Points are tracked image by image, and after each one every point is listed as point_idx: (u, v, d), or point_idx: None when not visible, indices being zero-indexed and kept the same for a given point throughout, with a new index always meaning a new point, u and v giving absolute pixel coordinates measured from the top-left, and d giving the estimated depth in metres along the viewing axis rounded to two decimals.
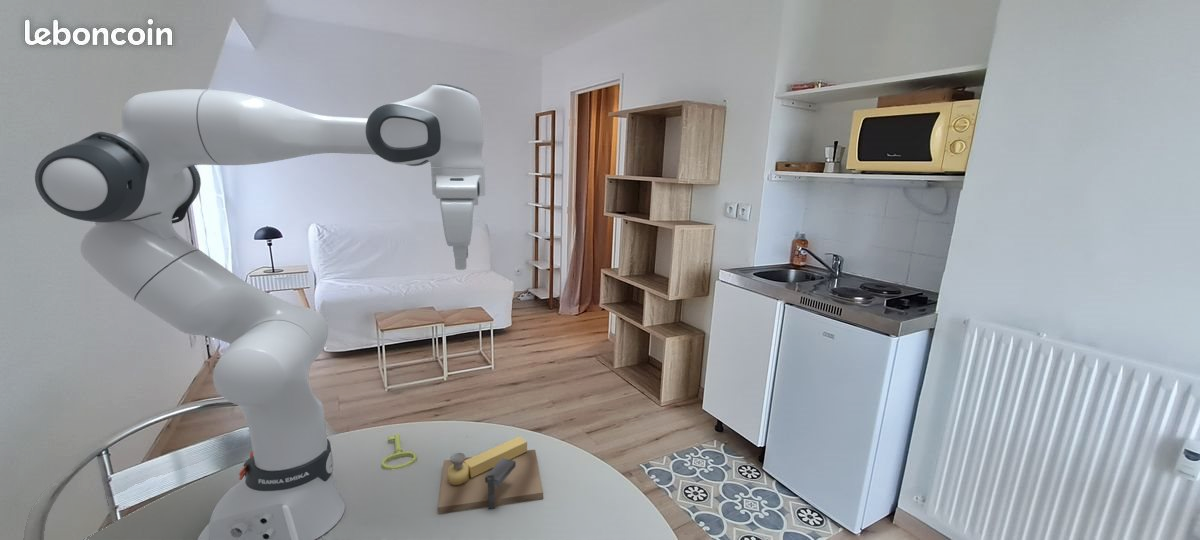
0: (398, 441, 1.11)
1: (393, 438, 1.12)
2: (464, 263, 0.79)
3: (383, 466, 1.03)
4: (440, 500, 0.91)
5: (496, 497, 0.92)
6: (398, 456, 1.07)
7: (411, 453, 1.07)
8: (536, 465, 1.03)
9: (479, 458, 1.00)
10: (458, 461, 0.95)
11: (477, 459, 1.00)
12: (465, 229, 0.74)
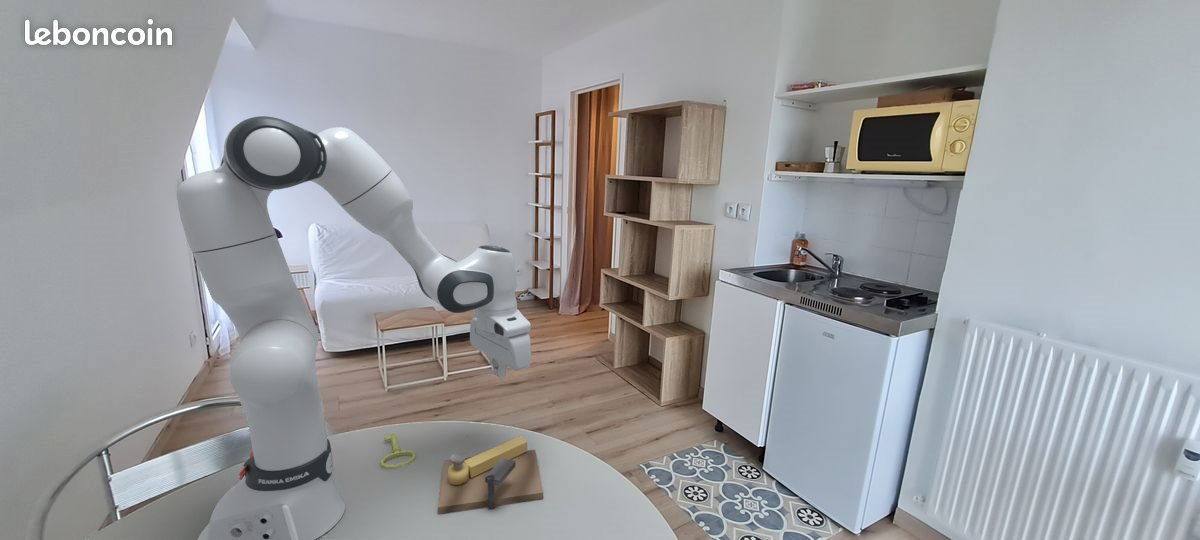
0: (395, 441, 1.11)
1: (389, 438, 1.12)
2: (504, 372, 1.07)
3: (382, 466, 1.03)
4: (440, 500, 0.91)
5: (496, 497, 0.92)
6: (396, 455, 1.07)
7: (409, 452, 1.07)
8: (536, 465, 1.03)
9: (479, 458, 1.00)
10: (458, 461, 0.95)
11: (477, 459, 1.00)
12: (528, 356, 1.00)
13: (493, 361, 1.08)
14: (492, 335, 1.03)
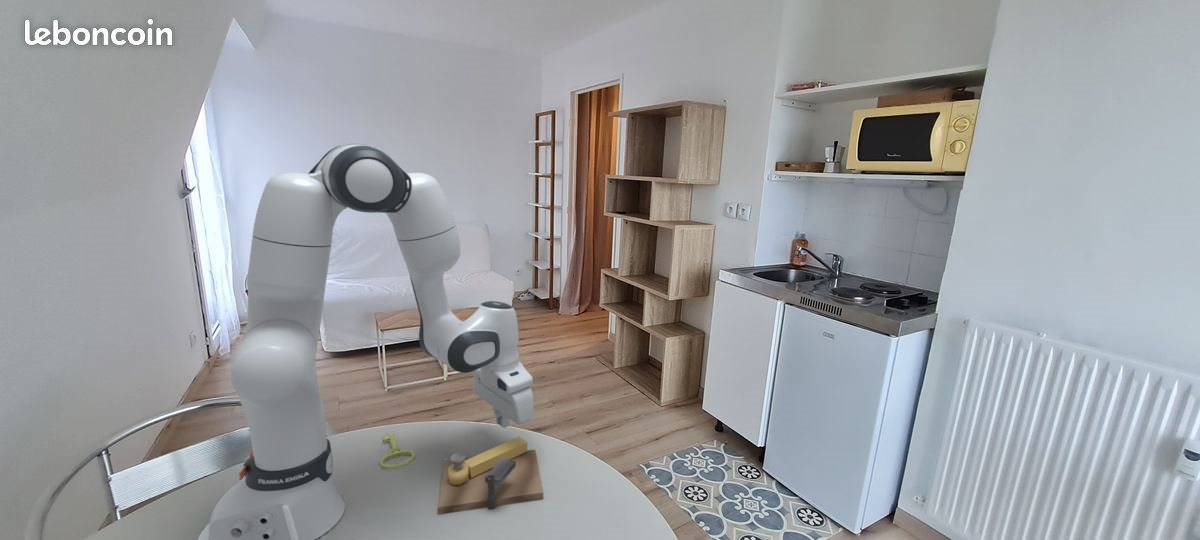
0: (394, 441, 1.11)
1: (388, 438, 1.12)
2: (508, 422, 1.10)
3: (382, 466, 1.03)
4: (440, 500, 0.91)
5: (496, 497, 0.92)
6: (396, 455, 1.07)
7: (409, 452, 1.08)
8: (536, 465, 1.03)
9: (479, 458, 1.00)
10: (458, 461, 0.95)
11: (477, 459, 1.00)
12: (530, 410, 1.03)
13: (497, 411, 1.11)
14: (495, 388, 1.05)
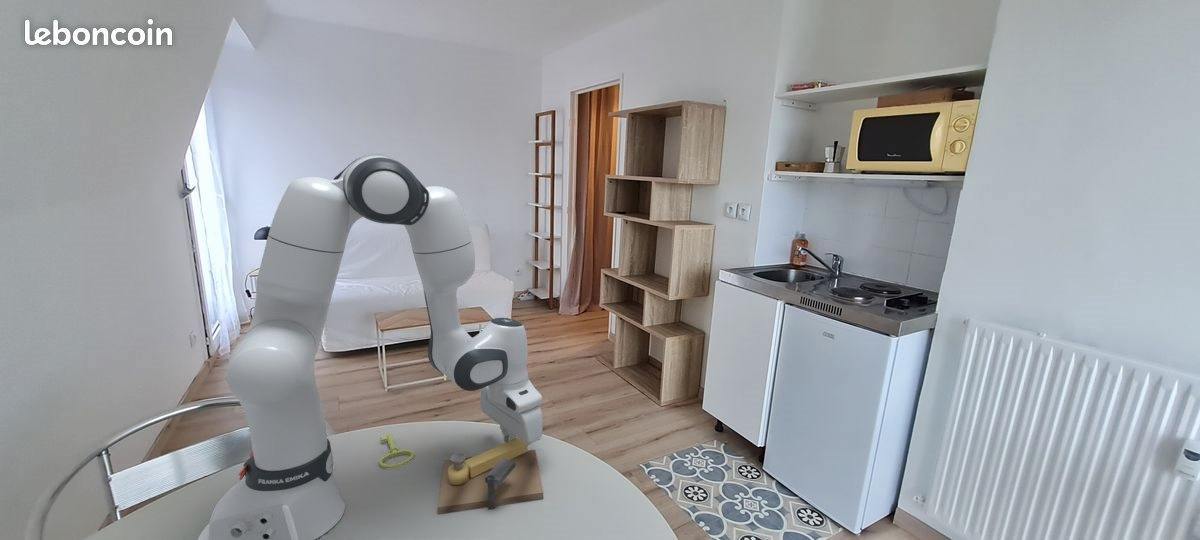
0: (392, 441, 1.11)
1: (386, 438, 1.12)
2: None
3: (381, 465, 1.03)
4: (440, 500, 0.91)
5: (496, 497, 0.92)
6: (394, 455, 1.07)
7: (408, 451, 1.08)
8: (536, 465, 1.03)
9: (479, 458, 1.00)
10: (458, 461, 0.95)
11: (477, 460, 1.00)
12: (540, 429, 1.01)
13: (504, 429, 1.08)
14: (503, 407, 1.03)
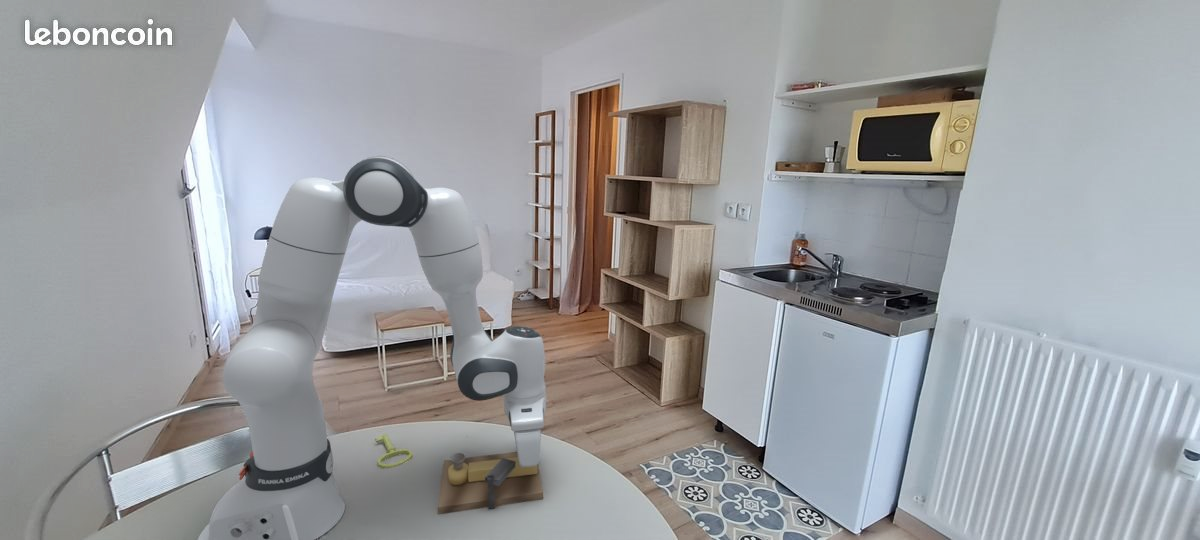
0: (388, 441, 1.11)
1: (381, 439, 1.12)
2: None
3: (380, 465, 1.03)
4: (440, 500, 0.91)
5: (496, 497, 0.92)
6: (392, 455, 1.07)
7: (405, 450, 1.08)
8: None
9: (483, 464, 0.98)
10: (458, 461, 0.95)
11: (480, 466, 0.98)
12: (535, 455, 0.92)
13: None
14: None
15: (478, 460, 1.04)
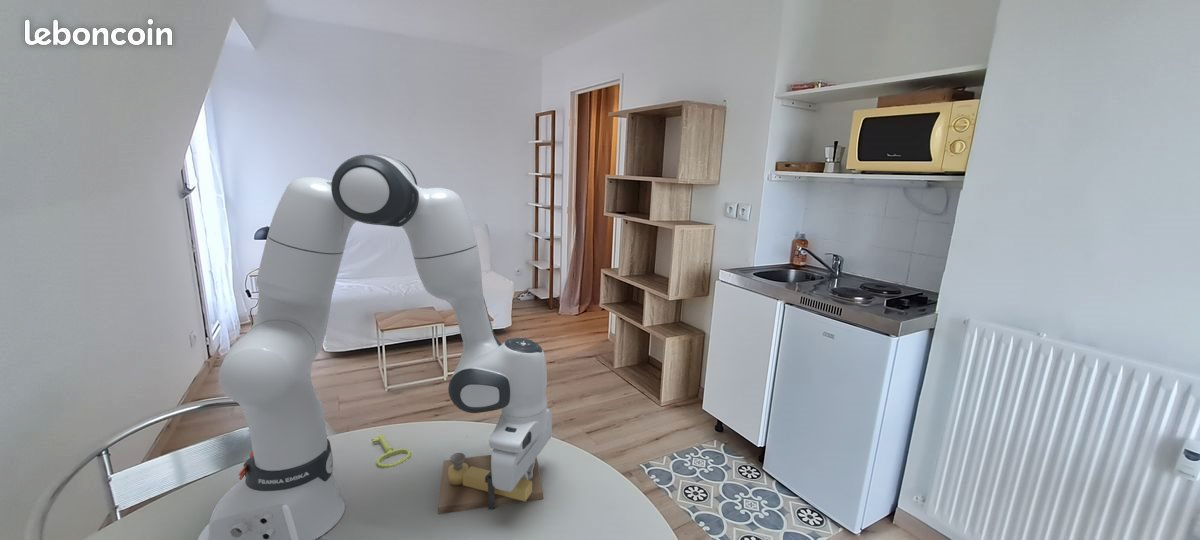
0: (385, 441, 1.11)
1: (378, 439, 1.12)
2: None
3: (379, 465, 1.03)
4: (440, 500, 0.91)
5: (496, 497, 0.92)
6: (391, 454, 1.07)
7: (404, 450, 1.08)
8: (536, 465, 1.03)
9: (480, 473, 0.95)
10: (458, 461, 0.95)
11: (476, 473, 0.95)
12: (507, 480, 0.84)
13: None
14: None
15: (478, 460, 1.04)
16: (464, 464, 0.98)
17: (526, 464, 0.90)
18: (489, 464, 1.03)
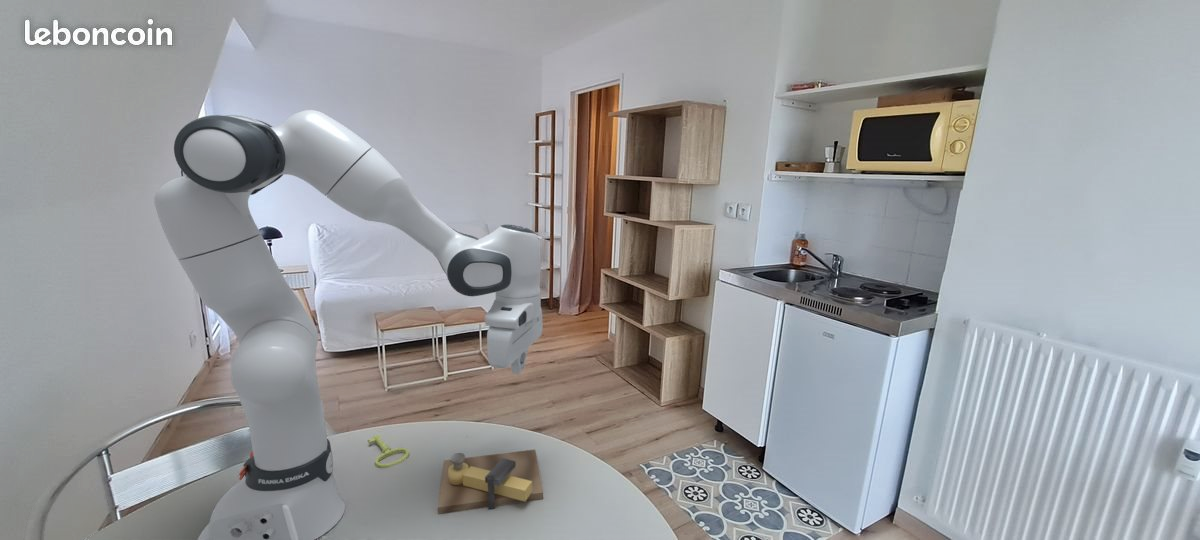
0: (382, 441, 1.10)
1: (374, 440, 1.11)
2: (518, 369, 0.95)
3: (379, 465, 1.03)
4: (440, 500, 0.91)
5: (496, 497, 0.92)
6: (389, 454, 1.07)
7: (402, 449, 1.08)
8: (536, 465, 1.03)
9: (480, 473, 0.95)
10: (458, 461, 0.95)
11: (476, 473, 0.95)
12: (503, 355, 0.85)
13: None
14: None
15: (478, 460, 1.04)
16: (464, 464, 0.98)
17: (520, 348, 0.92)
18: (489, 464, 1.03)
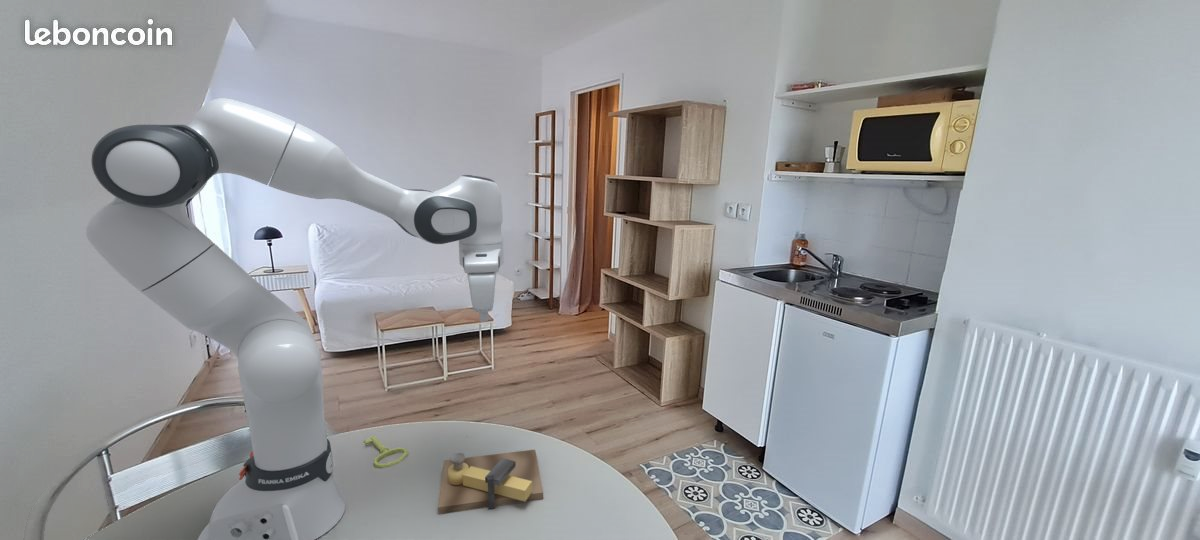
0: (379, 442, 1.10)
1: (370, 441, 1.11)
2: (486, 317, 0.98)
3: (378, 465, 1.03)
4: (440, 500, 0.91)
5: (496, 497, 0.92)
6: (387, 454, 1.07)
7: (400, 449, 1.09)
8: (536, 465, 1.03)
9: (480, 473, 0.95)
10: (458, 461, 0.95)
11: (476, 473, 0.95)
12: (489, 298, 0.89)
13: None
14: None
15: (478, 460, 1.04)
16: (464, 464, 0.98)
17: None
18: (489, 464, 1.03)
